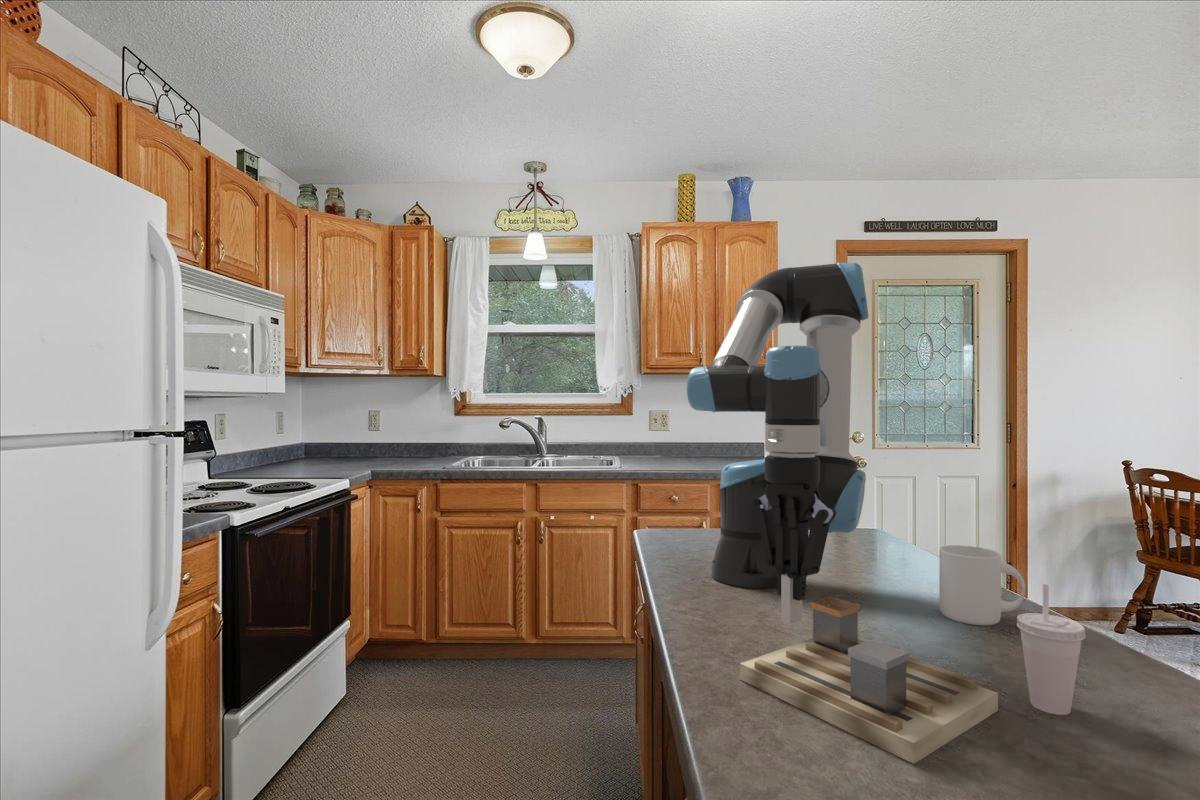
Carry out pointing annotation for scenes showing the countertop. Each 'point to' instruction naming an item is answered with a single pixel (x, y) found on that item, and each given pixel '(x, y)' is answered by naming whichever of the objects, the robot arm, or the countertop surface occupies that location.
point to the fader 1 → (835, 623)
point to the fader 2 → (878, 676)
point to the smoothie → (1050, 657)
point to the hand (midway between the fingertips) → (791, 620)
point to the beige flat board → (911, 733)
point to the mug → (974, 584)
